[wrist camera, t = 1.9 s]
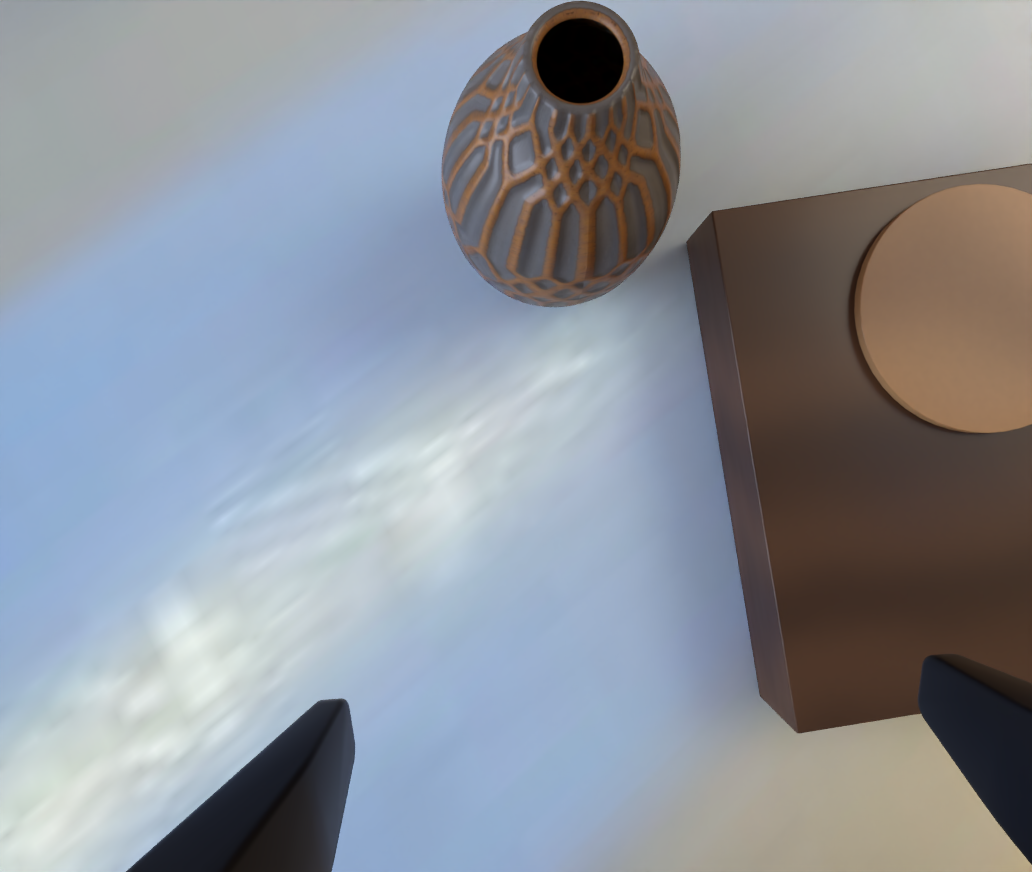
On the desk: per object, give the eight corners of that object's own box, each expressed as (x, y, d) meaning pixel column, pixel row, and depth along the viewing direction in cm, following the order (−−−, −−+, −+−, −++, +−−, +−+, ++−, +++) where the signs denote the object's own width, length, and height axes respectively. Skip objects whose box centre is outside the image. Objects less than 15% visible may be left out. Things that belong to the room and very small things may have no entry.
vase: (617, 125, 19) (706, -144, 11) (660, 303, 19) (787, 182, 10) (437, 165, 19) (375, -71, 10) (479, 345, 19) (452, 259, 10)
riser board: (1091, 642, 19) (1192, 676, 16) (759, 696, 19) (802, 739, 16) (1012, 192, 19) (1097, 149, 17) (685, 241, 19) (715, 206, 16)
